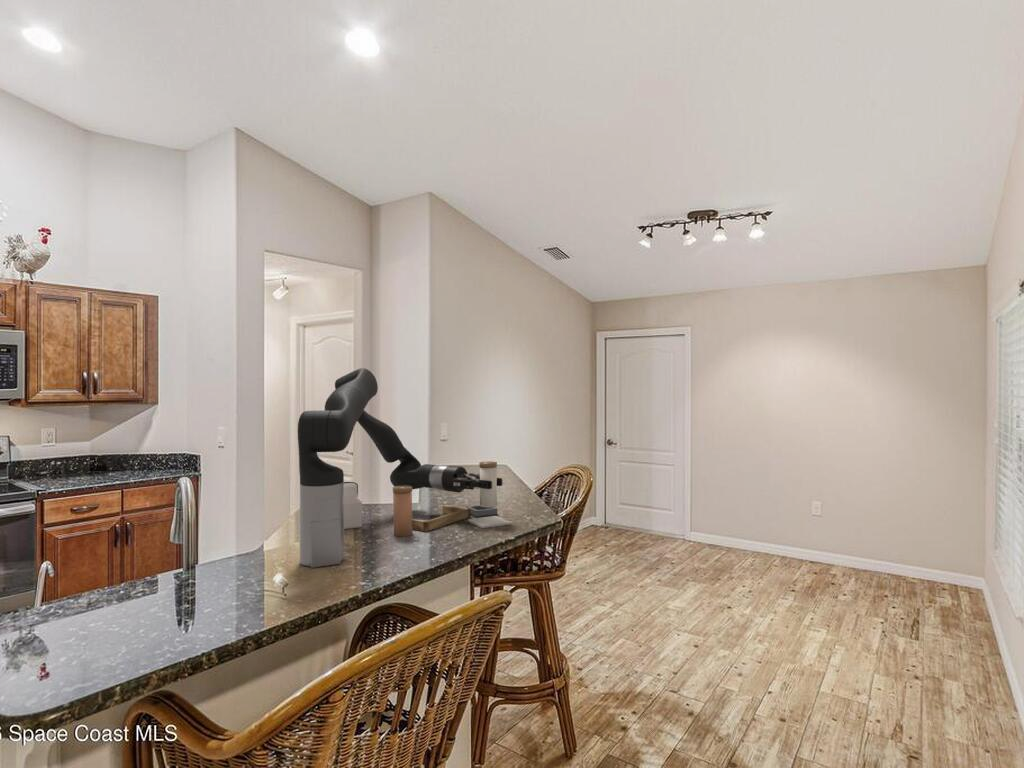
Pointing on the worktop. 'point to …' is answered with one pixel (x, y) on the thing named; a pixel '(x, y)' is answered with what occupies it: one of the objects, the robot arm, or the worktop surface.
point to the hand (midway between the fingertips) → (496, 483)
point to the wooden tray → (442, 518)
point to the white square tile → (489, 521)
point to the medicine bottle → (352, 506)
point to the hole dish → (482, 511)
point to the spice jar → (490, 474)
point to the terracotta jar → (402, 510)
